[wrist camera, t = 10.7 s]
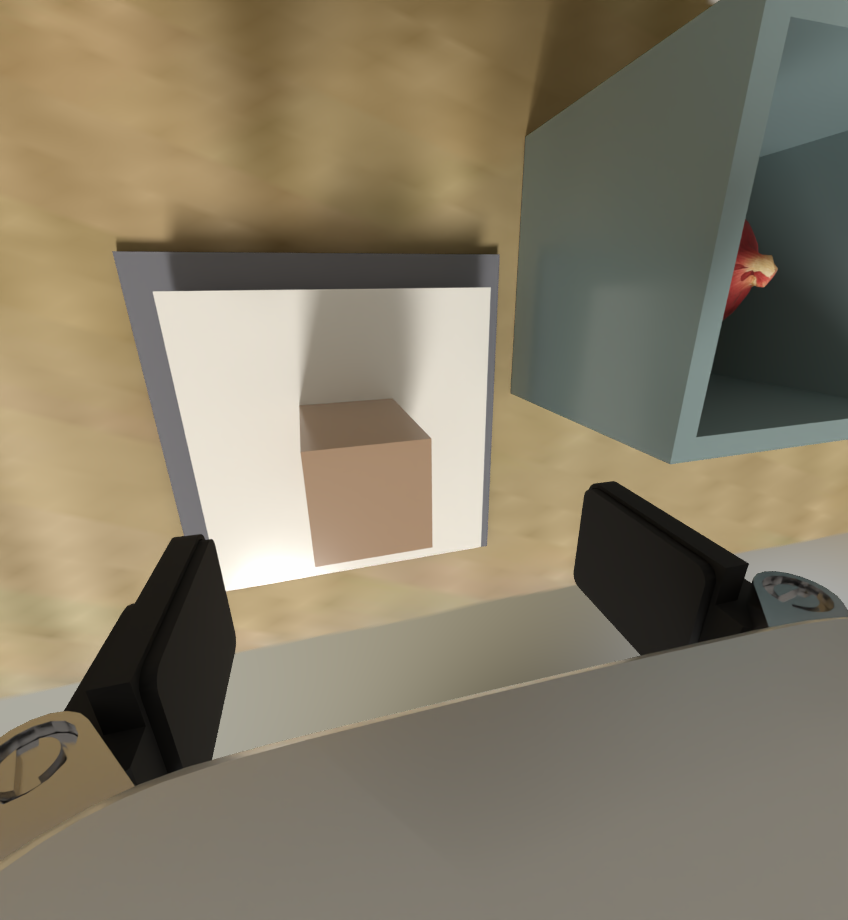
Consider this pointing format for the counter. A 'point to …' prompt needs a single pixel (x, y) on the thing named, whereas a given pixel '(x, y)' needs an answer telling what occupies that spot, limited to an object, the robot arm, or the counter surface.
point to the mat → (276, 273)
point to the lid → (331, 423)
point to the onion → (748, 270)
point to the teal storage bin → (695, 240)
